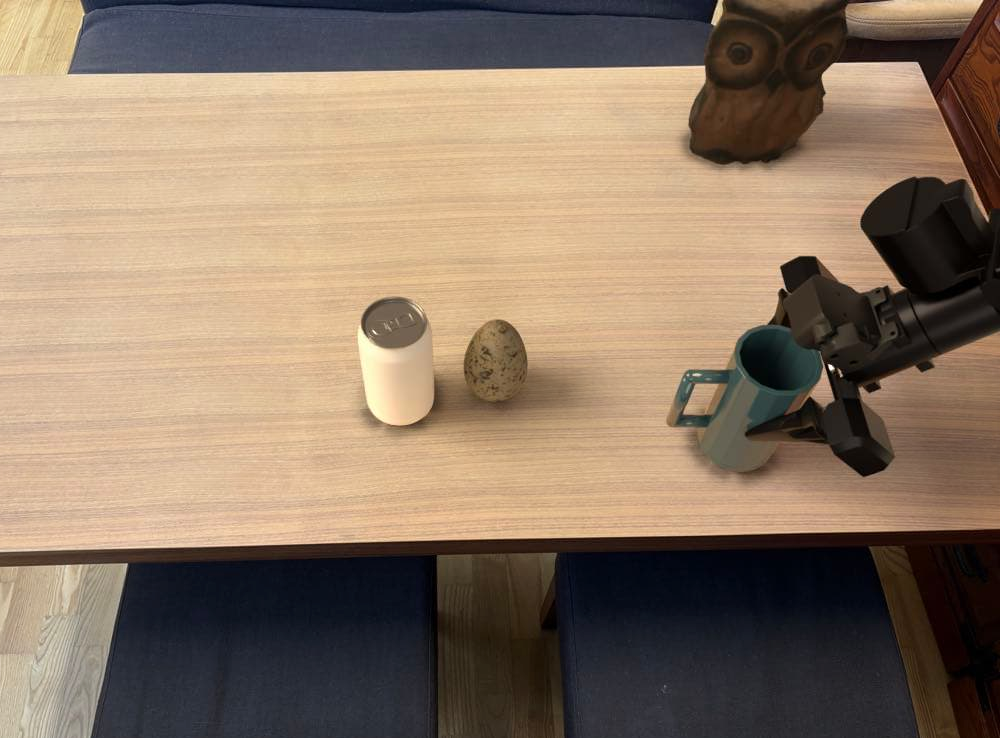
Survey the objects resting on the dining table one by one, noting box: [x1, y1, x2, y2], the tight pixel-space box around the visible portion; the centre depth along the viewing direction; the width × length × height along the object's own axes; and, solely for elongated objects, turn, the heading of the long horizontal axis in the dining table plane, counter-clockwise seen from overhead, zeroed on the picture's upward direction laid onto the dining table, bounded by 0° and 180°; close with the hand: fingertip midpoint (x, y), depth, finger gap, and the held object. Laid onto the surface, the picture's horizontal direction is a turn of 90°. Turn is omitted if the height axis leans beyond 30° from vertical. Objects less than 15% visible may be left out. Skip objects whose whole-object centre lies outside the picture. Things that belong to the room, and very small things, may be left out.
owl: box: [687, 0, 852, 166], centre depth 94 cm, size 13×13×20 cm
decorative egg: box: [463, 318, 529, 403], centre depth 78 cm, size 6×6×10 cm
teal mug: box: [665, 324, 824, 473], centre depth 74 cm, size 10×7×13 cm, turn 89°
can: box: [357, 295, 435, 426], centre depth 77 cm, size 6×6×12 cm
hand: (739, 400), depth 73 cm, fingers closed on teal mug, 7 cm apart
